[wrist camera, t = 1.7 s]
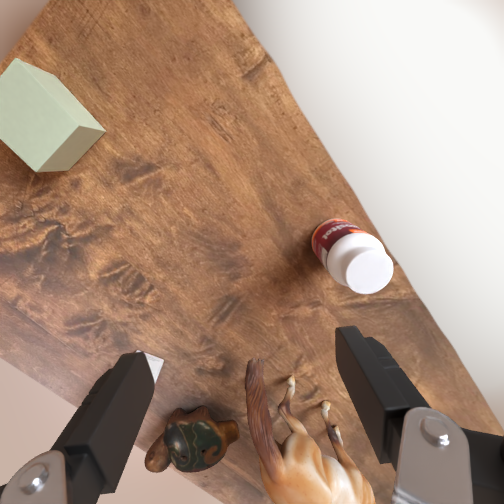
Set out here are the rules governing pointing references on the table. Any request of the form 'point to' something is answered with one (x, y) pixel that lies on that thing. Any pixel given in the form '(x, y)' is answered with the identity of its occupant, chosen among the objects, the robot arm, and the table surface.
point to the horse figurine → (299, 453)
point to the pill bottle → (352, 256)
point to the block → (43, 119)
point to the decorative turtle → (191, 442)
